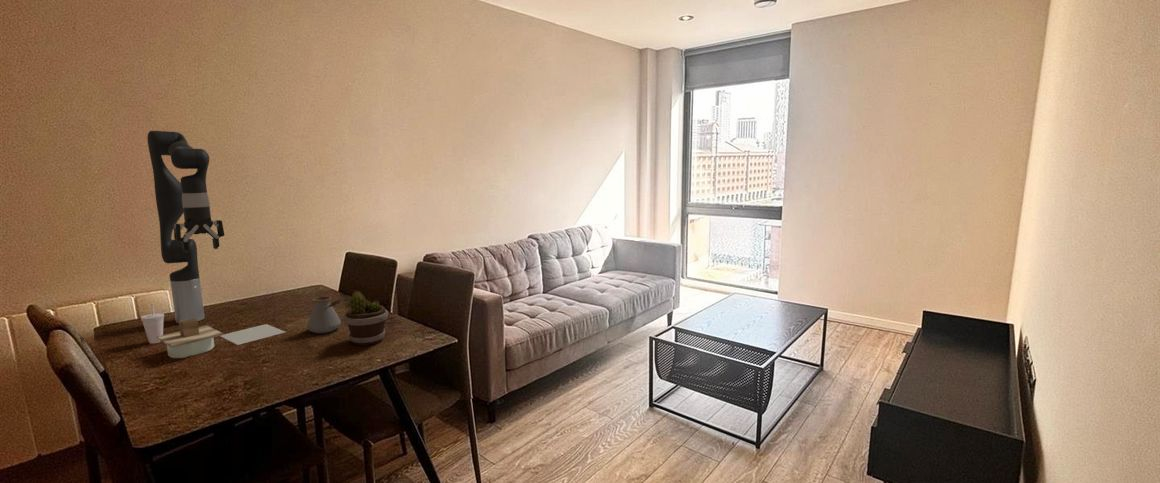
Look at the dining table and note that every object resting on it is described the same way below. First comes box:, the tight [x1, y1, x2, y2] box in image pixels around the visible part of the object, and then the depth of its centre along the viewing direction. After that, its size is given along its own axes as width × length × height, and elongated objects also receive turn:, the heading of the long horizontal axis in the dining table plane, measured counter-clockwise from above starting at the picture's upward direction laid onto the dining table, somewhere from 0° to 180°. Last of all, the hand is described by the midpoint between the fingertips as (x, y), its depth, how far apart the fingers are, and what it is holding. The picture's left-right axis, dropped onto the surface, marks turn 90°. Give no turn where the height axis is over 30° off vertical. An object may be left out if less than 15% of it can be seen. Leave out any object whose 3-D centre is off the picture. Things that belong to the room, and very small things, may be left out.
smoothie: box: [140, 303, 165, 345], centre depth 174 cm, size 6×6×14 cm
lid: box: [157, 318, 224, 348], centre depth 165 cm, size 14×14×6 cm
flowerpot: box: [342, 290, 389, 346], centre depth 175 cm, size 14×15×20 cm
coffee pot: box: [306, 295, 344, 334], centre depth 182 cm, size 21×12×15 cm, turn 49°
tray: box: [220, 323, 286, 346], centre depth 182 cm, size 16×16×1 cm
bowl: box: [166, 338, 215, 359], centre depth 166 cm, size 12×12×5 cm
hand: (201, 250), depth 176 cm, fingers open, 8 cm apart
